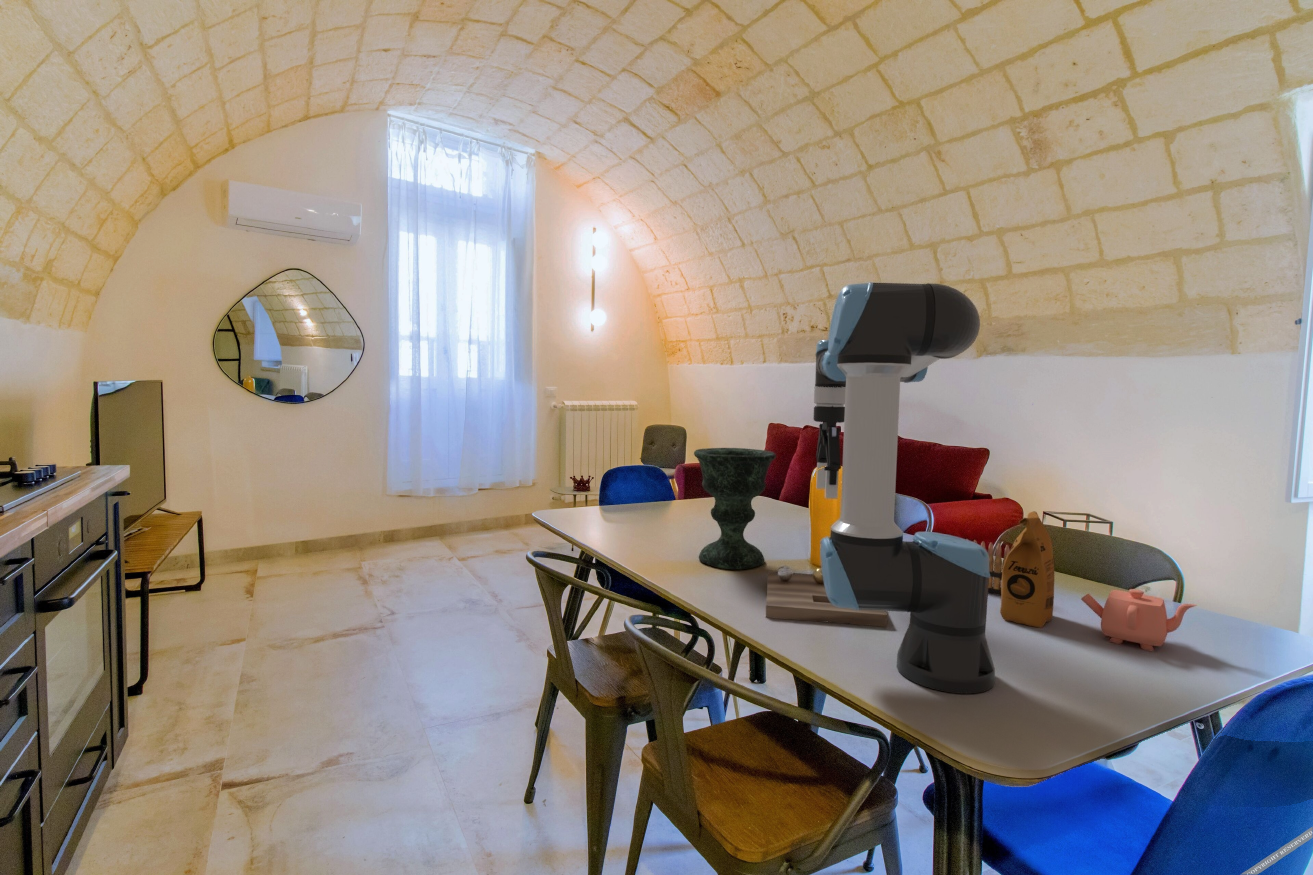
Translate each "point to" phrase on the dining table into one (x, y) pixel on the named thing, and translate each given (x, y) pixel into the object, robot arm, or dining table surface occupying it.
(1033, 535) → the coffee package
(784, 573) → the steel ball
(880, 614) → the hole plate
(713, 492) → the goblet
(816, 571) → the brass ball
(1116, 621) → the teapot
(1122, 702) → the dining table surface
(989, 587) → the ammunition clip
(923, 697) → the dining table surface
